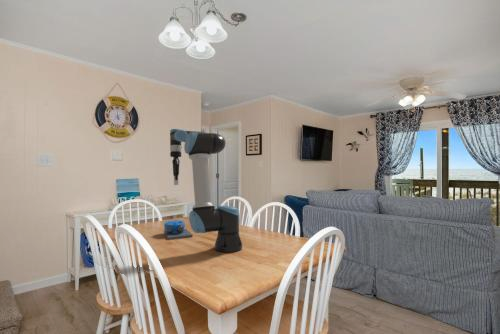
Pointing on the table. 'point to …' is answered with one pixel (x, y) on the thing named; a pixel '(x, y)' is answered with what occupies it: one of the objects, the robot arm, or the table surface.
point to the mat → (179, 235)
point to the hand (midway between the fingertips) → (176, 184)
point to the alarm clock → (174, 227)
